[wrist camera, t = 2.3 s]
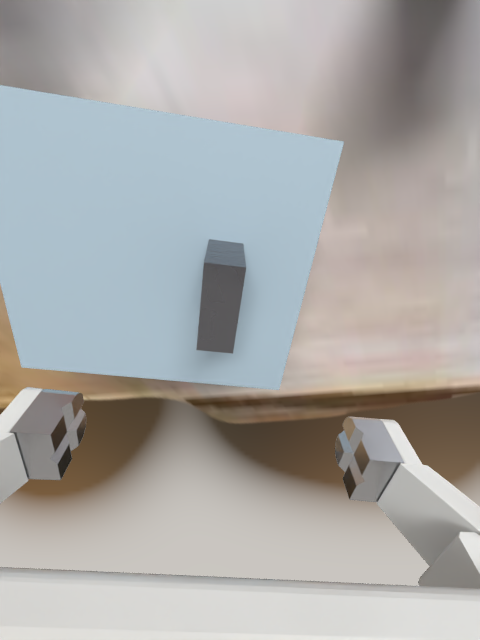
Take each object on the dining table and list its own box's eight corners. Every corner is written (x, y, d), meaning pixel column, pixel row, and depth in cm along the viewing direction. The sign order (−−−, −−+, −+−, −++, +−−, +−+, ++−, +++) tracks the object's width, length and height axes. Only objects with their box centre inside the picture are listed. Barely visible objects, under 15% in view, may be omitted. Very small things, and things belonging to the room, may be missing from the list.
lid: (27, 360, 23) (-18, 409, 19) (-40, 79, 15) (-144, 55, 11) (277, 382, 25) (287, 432, 20) (339, 141, 17) (375, 141, 12)
